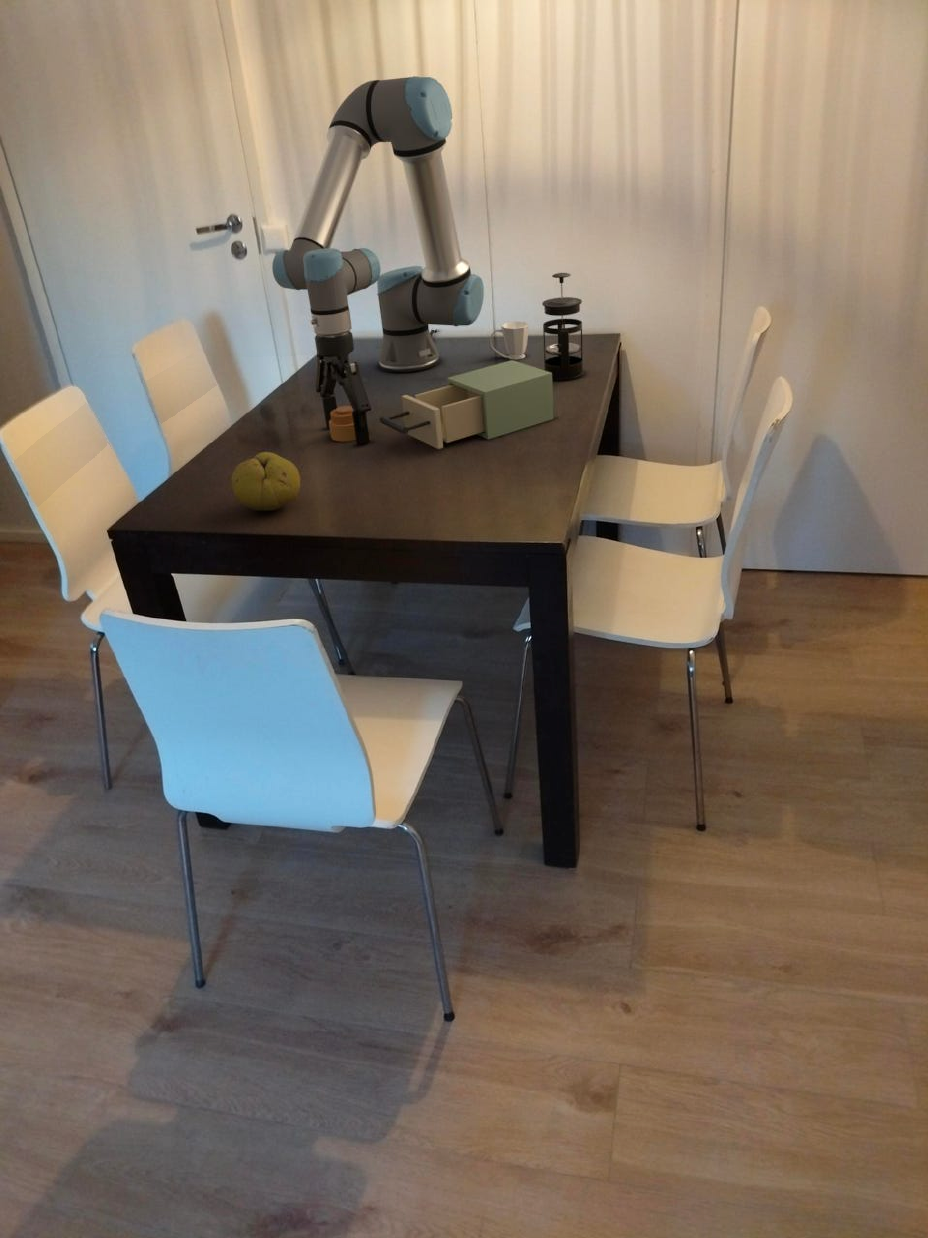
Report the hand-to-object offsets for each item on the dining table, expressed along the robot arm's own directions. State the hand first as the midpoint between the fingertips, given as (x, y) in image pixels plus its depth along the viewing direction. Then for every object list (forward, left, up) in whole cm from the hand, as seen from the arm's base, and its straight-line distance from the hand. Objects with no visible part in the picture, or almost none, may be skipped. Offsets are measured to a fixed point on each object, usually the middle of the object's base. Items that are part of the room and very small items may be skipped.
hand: (347, 435), depth 196 cm
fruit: (+32, -18, 0) cm, 37 cm away
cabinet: (+6, +32, 0) cm, 33 cm away
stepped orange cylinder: (0, 0, 0) cm, 0 cm away
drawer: (+11, +18, +1) cm, 21 cm away
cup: (-39, +47, 0) cm, 61 cm away
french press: (-18, +54, 0) cm, 57 cm away
